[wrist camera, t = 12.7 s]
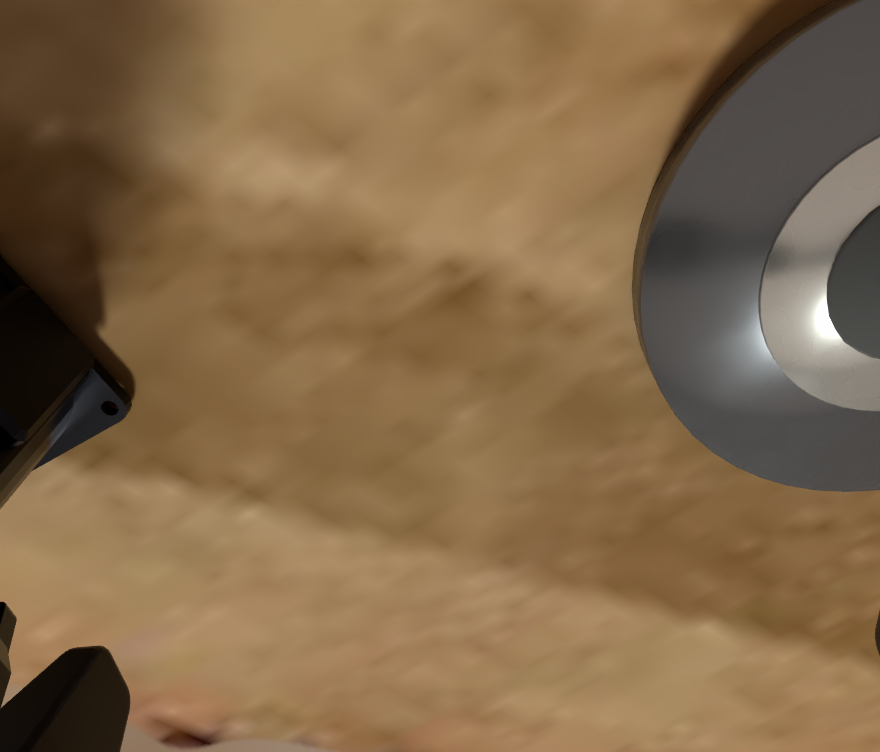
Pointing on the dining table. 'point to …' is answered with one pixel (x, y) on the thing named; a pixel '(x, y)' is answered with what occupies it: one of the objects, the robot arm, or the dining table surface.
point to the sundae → (858, 287)
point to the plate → (770, 258)
